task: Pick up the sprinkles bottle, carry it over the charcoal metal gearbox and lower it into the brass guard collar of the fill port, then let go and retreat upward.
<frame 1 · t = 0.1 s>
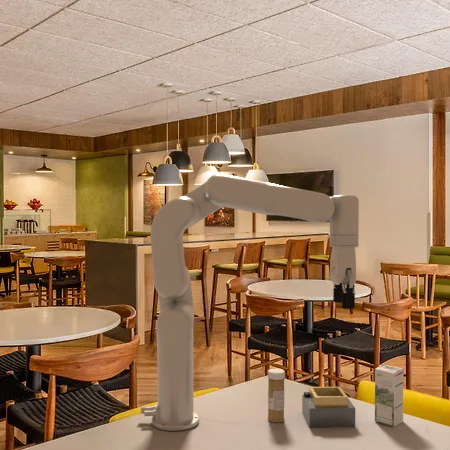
hand: (343, 305, 147), 31 cm above the table, fingers open, 9 cm apart
gearbox: (327, 419, 148), on the table
sprinkles bottle: (276, 420, 148), on the table
syrup box: (388, 422, 147), on the table
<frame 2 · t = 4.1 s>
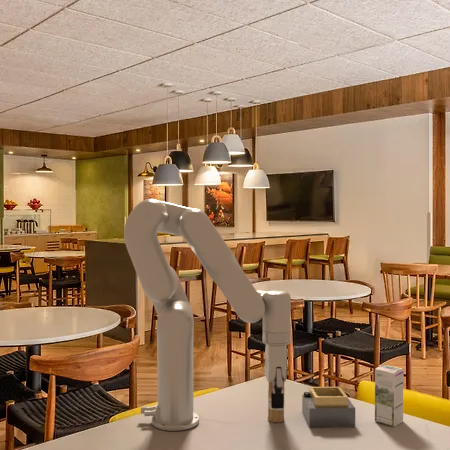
hand: (276, 403, 148), 4 cm above the table, fingers closed on sprinkles bottle, 4 cm apart
sprinkles bottle: (276, 420, 148), on the table, touching gripper
everything else where it was.
when the fingers open (11 cm above the table, at t = 10.4 s): sprinkles bottle drops 1 cm, resting on gearbox.
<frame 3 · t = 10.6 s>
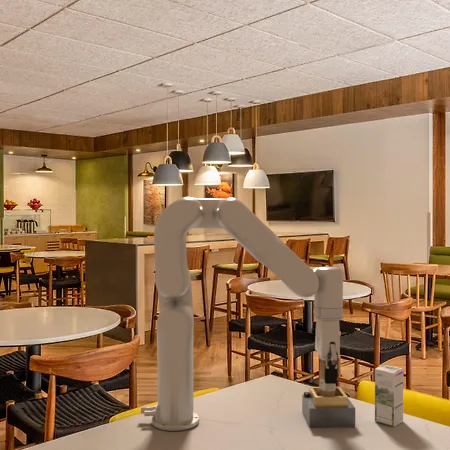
hand: (328, 378, 148), 11 cm above the table, fingers open, 6 cm apart
sprinkles bottle: (327, 401, 148), point 5 cm above the table, touching gearbox
everything else where it was.
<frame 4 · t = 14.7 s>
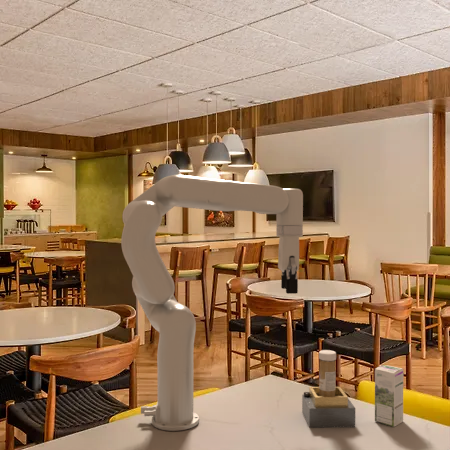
hand: (289, 290, 158), 33 cm above the table, fingers open, 9 cm apart
nothing on the table moved.
at the end: sprinkles bottle 0.2 cm off-centre on the gearbox, point 4.8 cm above the gearbox's base; sprinkles bottle tilted 0°; the gripper is holding nothing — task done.
